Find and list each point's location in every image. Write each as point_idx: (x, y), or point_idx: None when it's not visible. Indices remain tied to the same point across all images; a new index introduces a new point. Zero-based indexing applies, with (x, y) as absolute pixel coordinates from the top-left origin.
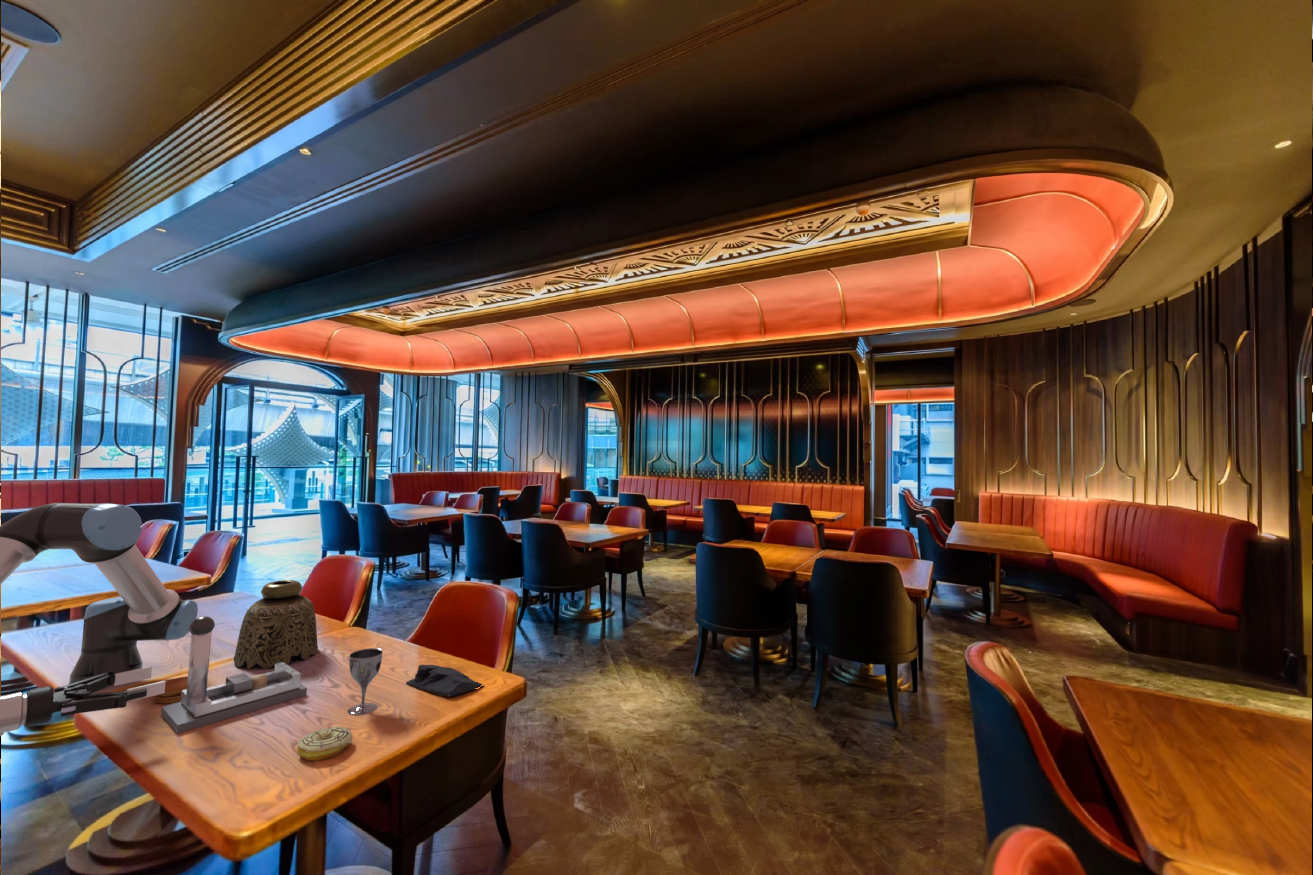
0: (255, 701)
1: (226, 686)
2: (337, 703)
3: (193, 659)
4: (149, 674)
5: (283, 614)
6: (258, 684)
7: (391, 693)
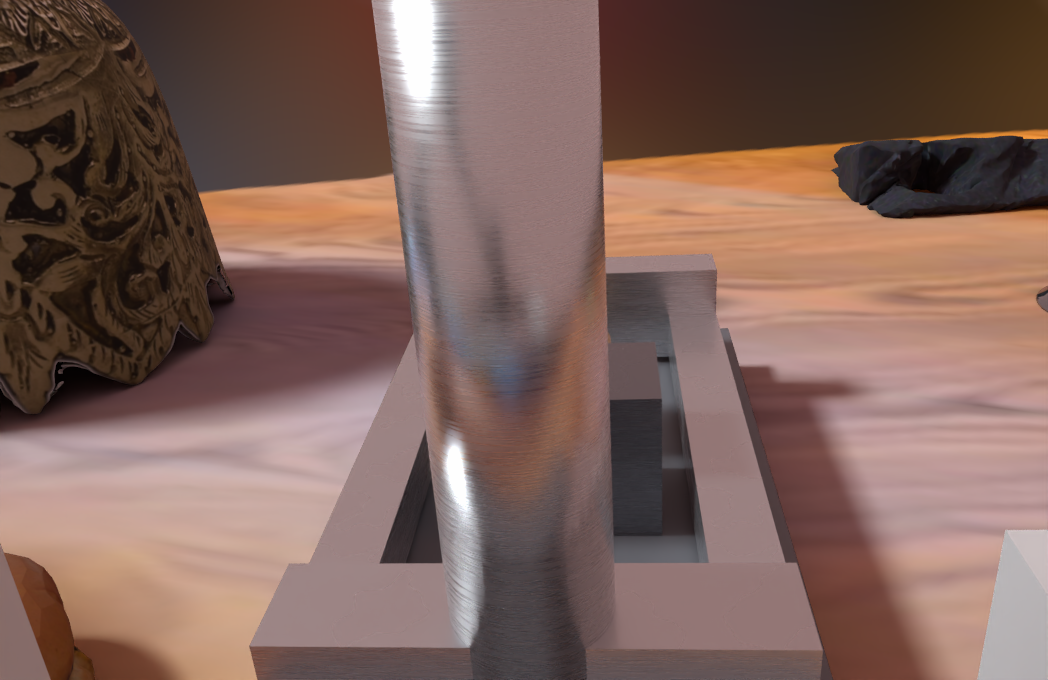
0: None
1: None
2: (960, 332)
3: (565, 225)
4: (20, 652)
5: (79, 42)
6: None
7: (971, 246)
